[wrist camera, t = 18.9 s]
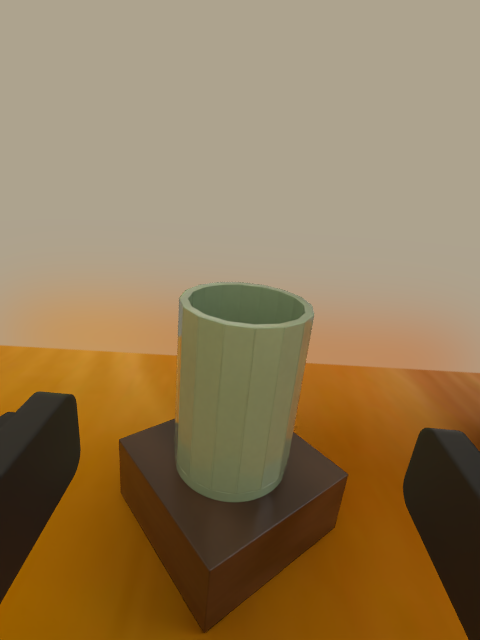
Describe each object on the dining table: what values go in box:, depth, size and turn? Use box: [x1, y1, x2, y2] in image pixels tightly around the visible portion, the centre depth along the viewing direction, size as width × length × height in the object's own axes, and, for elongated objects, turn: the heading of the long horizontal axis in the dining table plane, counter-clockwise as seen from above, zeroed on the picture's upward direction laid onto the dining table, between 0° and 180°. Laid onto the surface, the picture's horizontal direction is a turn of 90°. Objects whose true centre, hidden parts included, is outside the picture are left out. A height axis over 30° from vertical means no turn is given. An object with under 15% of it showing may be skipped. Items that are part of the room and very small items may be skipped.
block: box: [119, 419, 348, 633], centre depth 21 cm, size 9×9×4 cm
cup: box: [174, 282, 314, 502], centre depth 19 cm, size 6×6×9 cm
